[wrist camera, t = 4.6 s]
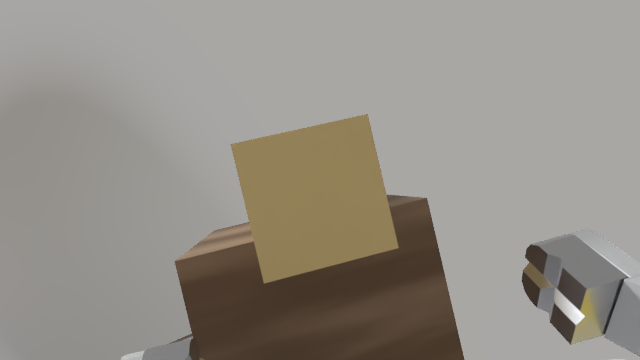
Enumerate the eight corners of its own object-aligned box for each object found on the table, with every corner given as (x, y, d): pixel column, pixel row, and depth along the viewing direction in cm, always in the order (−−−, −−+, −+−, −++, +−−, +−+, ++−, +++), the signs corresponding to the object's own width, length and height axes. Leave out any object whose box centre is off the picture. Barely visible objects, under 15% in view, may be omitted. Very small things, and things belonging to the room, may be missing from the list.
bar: (398, 247, 10) (367, 114, 10) (263, 283, 10) (230, 144, 10) (315, 206, 30) (305, 161, 30) (270, 217, 30) (259, 171, 30)
